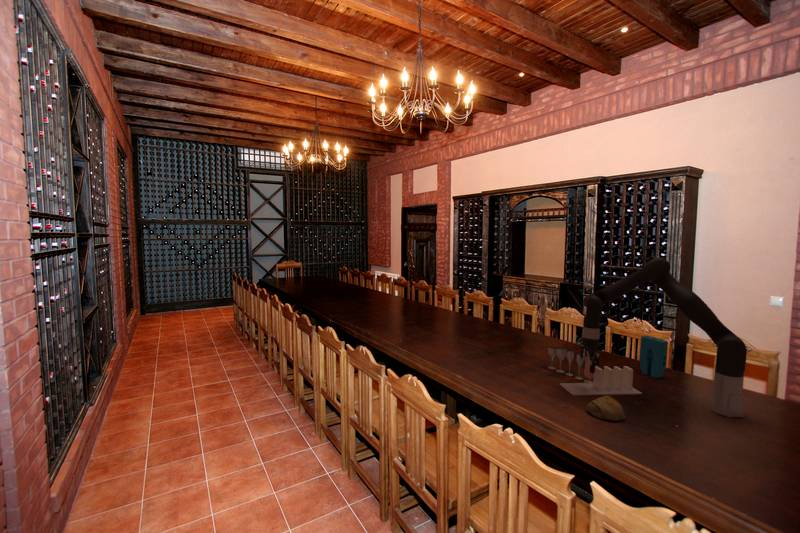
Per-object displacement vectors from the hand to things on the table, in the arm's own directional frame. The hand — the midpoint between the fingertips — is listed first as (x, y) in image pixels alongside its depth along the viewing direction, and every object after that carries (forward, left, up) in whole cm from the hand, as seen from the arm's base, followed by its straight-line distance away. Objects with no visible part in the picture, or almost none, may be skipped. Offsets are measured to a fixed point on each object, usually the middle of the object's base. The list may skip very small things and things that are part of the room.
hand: (588, 370), depth 183 cm
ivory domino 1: (0, -5, -9) cm, 10 cm away
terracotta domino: (0, 0, -3) cm, 3 cm away
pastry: (-25, +7, -10) cm, 28 cm away
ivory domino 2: (0, -10, -9) cm, 14 cm away
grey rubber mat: (0, -6, -10) cm, 11 cm away
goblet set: (+19, -1, -10) cm, 22 cm away
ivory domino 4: (0, -20, -9) cm, 22 cm away
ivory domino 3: (0, -15, -9) cm, 18 cm away
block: (+17, -46, -10) cm, 50 cm away
